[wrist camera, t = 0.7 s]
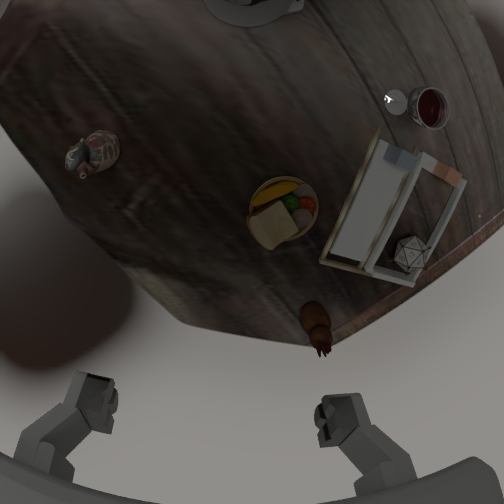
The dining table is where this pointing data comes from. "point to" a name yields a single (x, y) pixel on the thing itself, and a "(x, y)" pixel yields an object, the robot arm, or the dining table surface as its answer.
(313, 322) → the wooden figurine
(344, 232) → the inner strip
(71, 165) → the figurine
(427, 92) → the wineglass
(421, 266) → the game die
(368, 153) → the lane rails
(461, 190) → the grey rectangular frame
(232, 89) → the dining table surface
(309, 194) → the toy sandwich meal
